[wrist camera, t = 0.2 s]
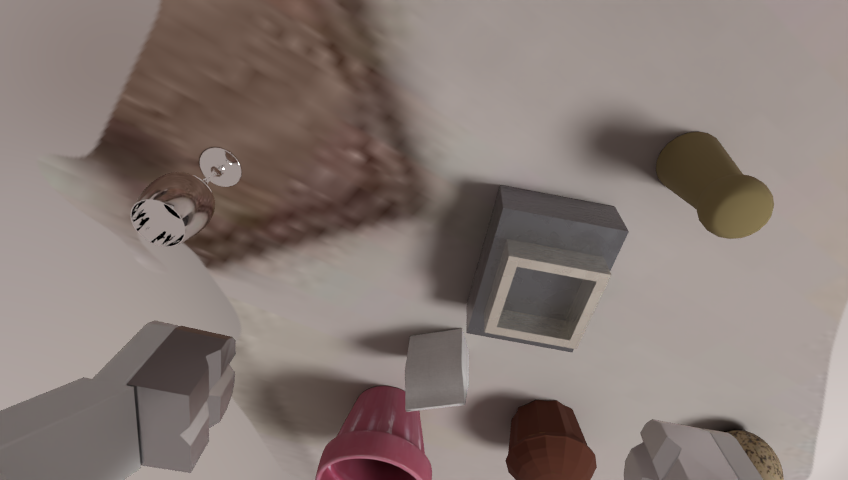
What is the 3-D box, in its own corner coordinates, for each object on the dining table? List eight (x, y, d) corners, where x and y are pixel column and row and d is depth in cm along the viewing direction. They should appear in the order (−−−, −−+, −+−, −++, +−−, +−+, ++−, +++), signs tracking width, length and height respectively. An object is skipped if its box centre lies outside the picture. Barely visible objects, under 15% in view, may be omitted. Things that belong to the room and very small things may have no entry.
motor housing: (500, 184, 49) (505, 223, 42) (614, 206, 49) (638, 248, 42) (466, 304, 57) (466, 352, 51) (564, 322, 58) (577, 372, 51)
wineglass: (182, 158, 50) (109, 213, 40) (220, 130, 48) (153, 180, 38) (221, 201, 53) (162, 262, 42) (259, 175, 51) (206, 234, 40)
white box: (410, 335, 61) (400, 399, 52) (462, 328, 60) (460, 392, 51) (418, 356, 63) (410, 421, 54) (468, 349, 61) (468, 414, 53)
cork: (710, 119, 44) (775, 166, 35) (732, 170, 46) (798, 227, 37) (645, 153, 46) (690, 207, 37) (669, 200, 48) (717, 262, 39)
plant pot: (321, 382, 67) (292, 467, 56) (415, 363, 63) (404, 449, 52) (362, 444, 73) (344, 531, 63) (449, 430, 70) (446, 520, 59)
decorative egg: (733, 456, 68) (771, 529, 60) (691, 440, 67) (723, 512, 58) (772, 428, 64) (818, 501, 56) (728, 411, 63) (768, 483, 55)
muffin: (486, 412, 67) (489, 479, 59) (556, 380, 63) (569, 448, 55) (533, 456, 72) (541, 524, 63) (601, 429, 67) (620, 499, 59)
